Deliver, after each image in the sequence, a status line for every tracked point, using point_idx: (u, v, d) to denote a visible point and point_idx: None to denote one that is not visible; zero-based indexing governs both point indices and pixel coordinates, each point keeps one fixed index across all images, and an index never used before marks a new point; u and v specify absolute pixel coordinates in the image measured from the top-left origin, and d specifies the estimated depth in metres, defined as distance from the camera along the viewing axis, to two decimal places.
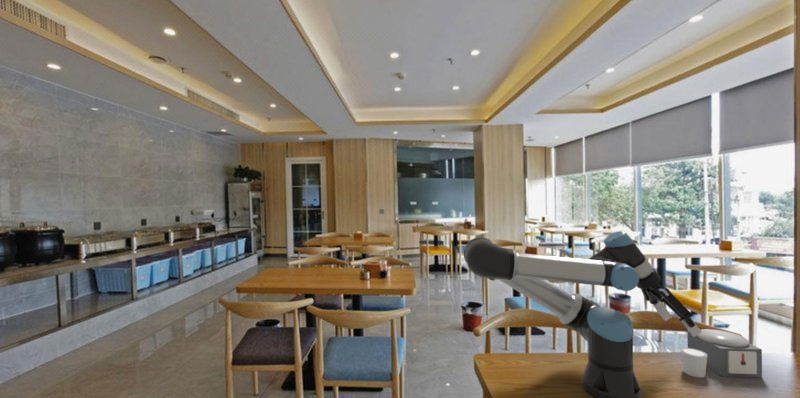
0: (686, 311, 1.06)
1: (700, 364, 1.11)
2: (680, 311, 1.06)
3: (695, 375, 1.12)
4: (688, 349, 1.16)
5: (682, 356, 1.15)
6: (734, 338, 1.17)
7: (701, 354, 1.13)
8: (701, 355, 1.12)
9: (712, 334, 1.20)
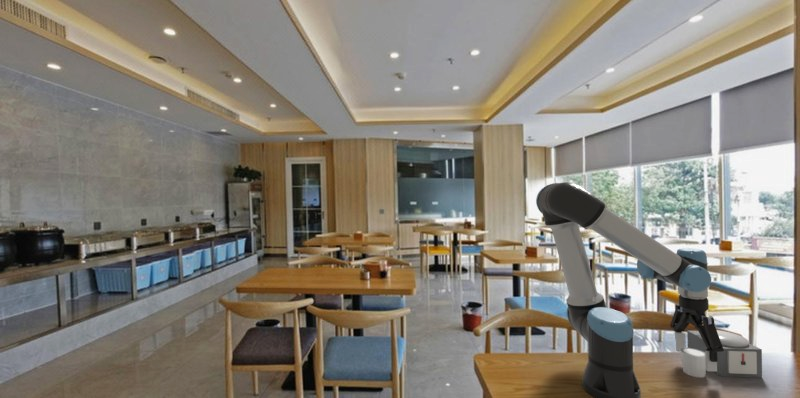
0: (719, 344, 1.05)
1: (700, 364, 1.11)
2: (713, 342, 1.05)
3: (695, 375, 1.12)
4: (688, 349, 1.16)
5: (682, 356, 1.15)
6: (734, 338, 1.17)
7: (701, 354, 1.13)
8: (701, 355, 1.12)
9: None
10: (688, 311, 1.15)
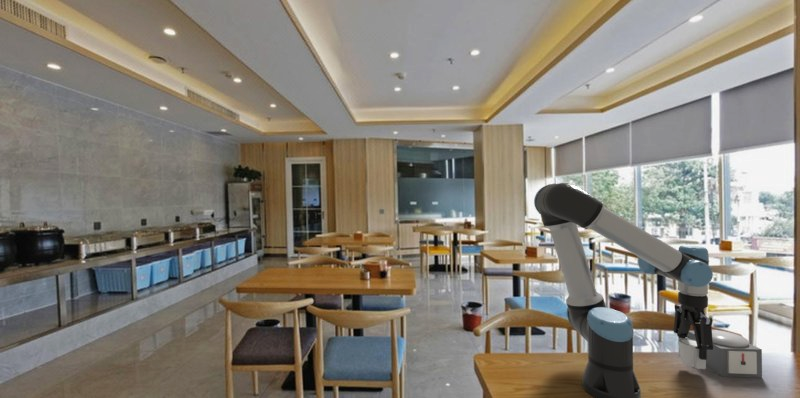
0: (710, 344, 1.07)
1: None
2: (705, 341, 1.07)
3: (693, 365, 1.12)
4: (686, 340, 1.16)
5: (680, 346, 1.15)
6: (734, 338, 1.17)
7: None
8: None
9: (712, 334, 1.20)
10: (686, 305, 1.15)
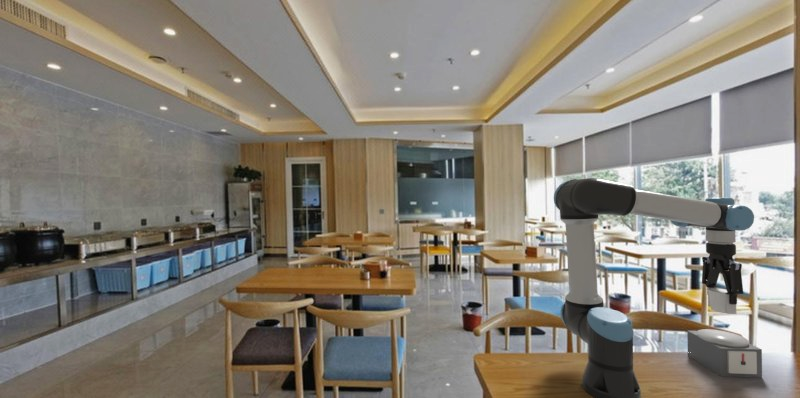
0: (740, 288, 1.12)
1: None
2: (736, 286, 1.12)
3: (723, 311, 1.16)
4: (715, 288, 1.21)
5: (710, 294, 1.19)
6: (734, 338, 1.17)
7: None
8: None
9: (712, 334, 1.20)
10: (714, 255, 1.20)
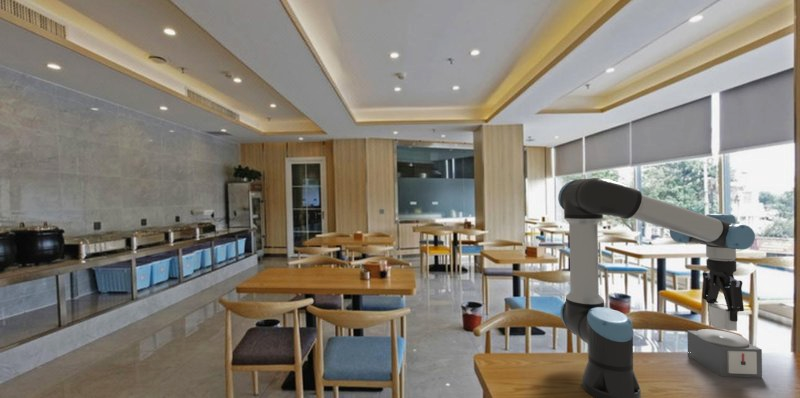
0: (741, 305, 1.12)
1: None
2: (736, 303, 1.12)
3: (724, 328, 1.16)
4: (716, 304, 1.21)
5: (710, 311, 1.19)
6: (734, 338, 1.17)
7: None
8: None
9: (712, 334, 1.20)
10: (715, 271, 1.20)
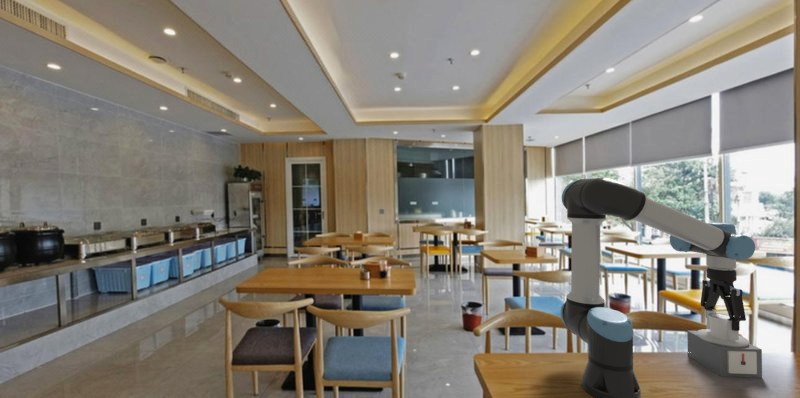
0: (742, 315, 1.11)
1: None
2: (738, 312, 1.11)
3: (723, 337, 1.16)
4: (716, 314, 1.21)
5: (710, 320, 1.19)
6: None
7: (729, 318, 1.17)
8: (729, 318, 1.16)
9: None
10: (715, 281, 1.20)
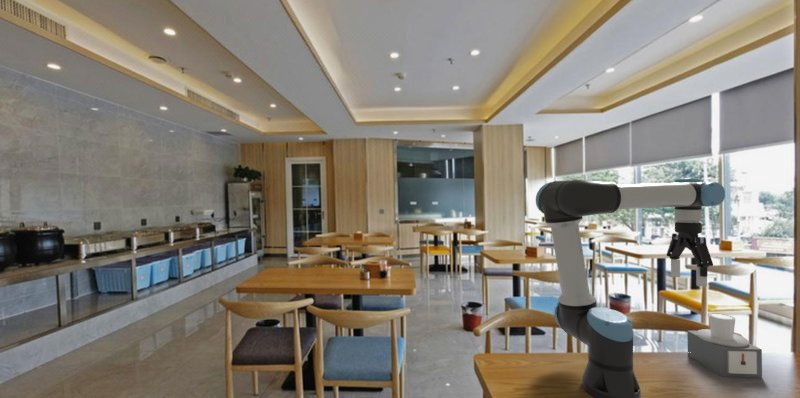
0: (709, 260, 1.14)
1: (728, 327, 1.16)
2: (704, 257, 1.15)
3: (723, 337, 1.16)
4: (716, 314, 1.21)
5: (710, 320, 1.19)
6: (734, 338, 1.17)
7: (729, 318, 1.17)
8: (729, 318, 1.16)
9: None
10: (683, 236, 1.25)
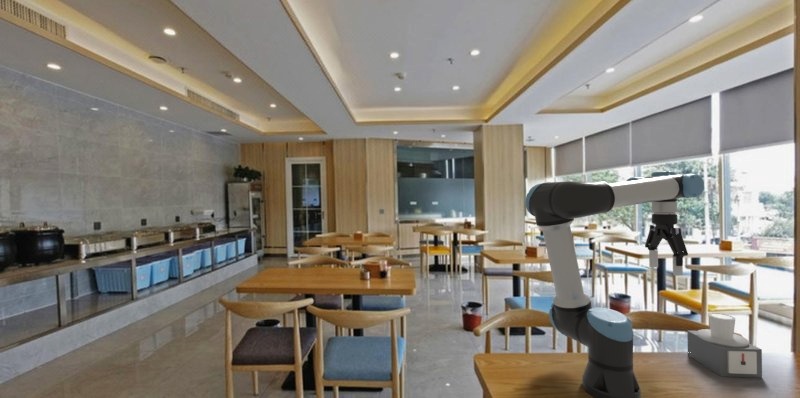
0: (684, 249, 1.18)
1: (728, 327, 1.16)
2: (679, 247, 1.19)
3: (723, 337, 1.16)
4: (716, 314, 1.21)
5: (710, 320, 1.19)
6: (734, 338, 1.17)
7: (729, 318, 1.17)
8: (729, 318, 1.16)
9: None
10: (660, 227, 1.29)
